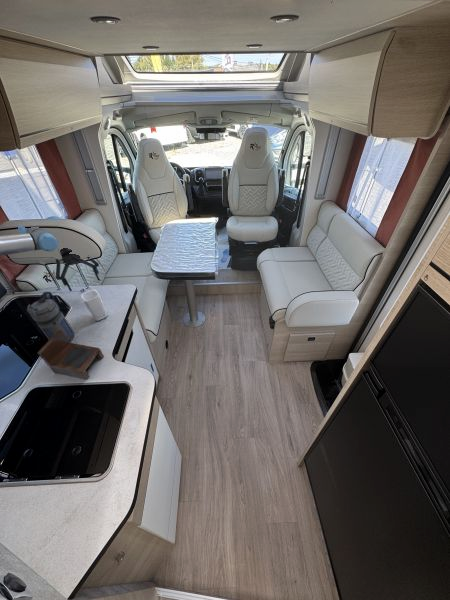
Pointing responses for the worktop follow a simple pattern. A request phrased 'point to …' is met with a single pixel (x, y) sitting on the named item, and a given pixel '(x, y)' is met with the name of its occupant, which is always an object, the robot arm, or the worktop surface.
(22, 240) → the robot arm
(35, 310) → the beverage bottle
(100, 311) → the cup
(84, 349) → the shelf
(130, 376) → the worktop surface
